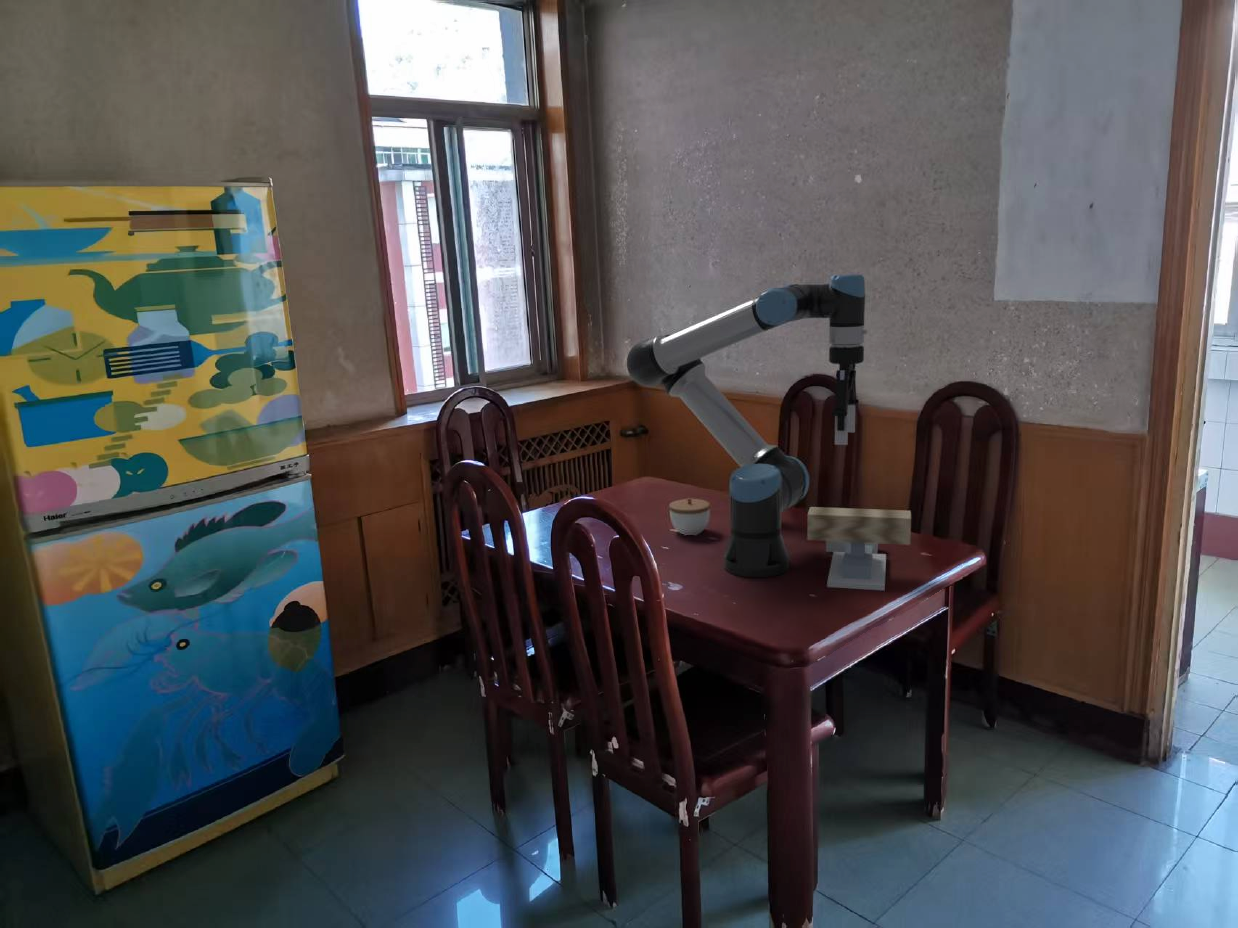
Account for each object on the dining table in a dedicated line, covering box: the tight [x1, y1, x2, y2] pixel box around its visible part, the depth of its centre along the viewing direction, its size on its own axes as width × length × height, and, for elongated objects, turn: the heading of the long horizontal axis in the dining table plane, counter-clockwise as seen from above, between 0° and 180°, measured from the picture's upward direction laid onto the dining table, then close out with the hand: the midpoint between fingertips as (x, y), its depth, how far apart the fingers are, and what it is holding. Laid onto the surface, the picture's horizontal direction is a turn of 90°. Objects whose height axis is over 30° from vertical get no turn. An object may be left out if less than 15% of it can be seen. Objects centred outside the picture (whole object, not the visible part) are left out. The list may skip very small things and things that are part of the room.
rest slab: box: [825, 541, 879, 554], centre depth 213 cm, size 12×4×3 cm, turn 73°
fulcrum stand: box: [826, 542, 887, 592], centre depth 198 cm, size 12×20×8 cm, turn 163°
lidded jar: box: [668, 497, 711, 536], centre depth 233 cm, size 11×11×9 cm
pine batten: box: [806, 506, 912, 546], centre depth 197 cm, size 22×6×6 cm, turn 73°
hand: (845, 438), depth 201 cm, fingers open, 13 cm apart
